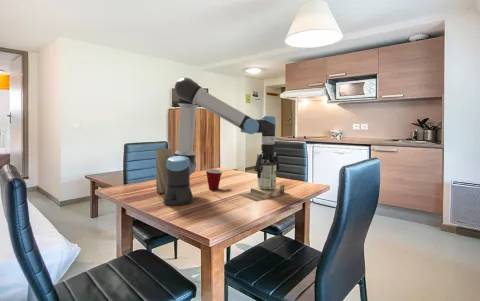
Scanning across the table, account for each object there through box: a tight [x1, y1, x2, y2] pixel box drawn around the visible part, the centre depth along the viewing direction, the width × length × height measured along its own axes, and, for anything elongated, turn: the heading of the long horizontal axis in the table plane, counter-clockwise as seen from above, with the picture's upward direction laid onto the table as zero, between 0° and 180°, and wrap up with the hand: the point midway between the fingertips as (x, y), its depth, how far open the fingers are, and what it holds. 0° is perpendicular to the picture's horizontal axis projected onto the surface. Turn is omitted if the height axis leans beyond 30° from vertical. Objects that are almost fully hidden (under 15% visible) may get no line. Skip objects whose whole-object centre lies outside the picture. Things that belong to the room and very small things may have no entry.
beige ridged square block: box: [250, 186, 280, 198], centre depth 154 cm, size 12×12×3 cm
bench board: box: [238, 184, 291, 203], centre depth 154 cm, size 26×16×6 cm, turn 127°
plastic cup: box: [205, 168, 223, 191], centre depth 170 cm, size 11×11×12 cm
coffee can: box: [257, 160, 277, 189], centre depth 154 cm, size 10×10×14 cm
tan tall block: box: [155, 148, 174, 194], centre depth 164 cm, size 10×10×25 cm
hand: (266, 182), depth 154 cm, fingers closed on coffee can, 10 cm apart
